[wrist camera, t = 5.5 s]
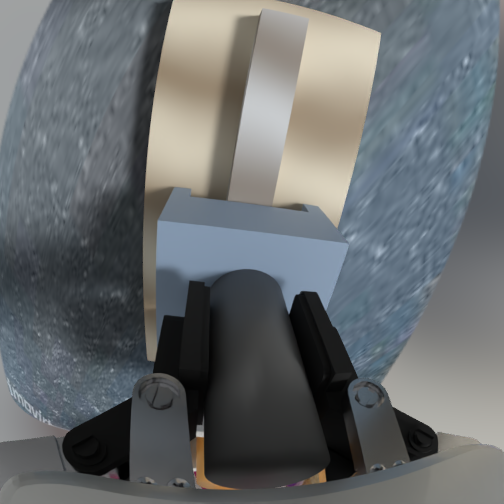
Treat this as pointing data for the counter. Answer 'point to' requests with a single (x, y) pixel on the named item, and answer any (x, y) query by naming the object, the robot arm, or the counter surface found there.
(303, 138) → the rail base
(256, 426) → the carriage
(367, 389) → the robot arm
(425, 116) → the counter surface
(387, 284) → the counter surface
